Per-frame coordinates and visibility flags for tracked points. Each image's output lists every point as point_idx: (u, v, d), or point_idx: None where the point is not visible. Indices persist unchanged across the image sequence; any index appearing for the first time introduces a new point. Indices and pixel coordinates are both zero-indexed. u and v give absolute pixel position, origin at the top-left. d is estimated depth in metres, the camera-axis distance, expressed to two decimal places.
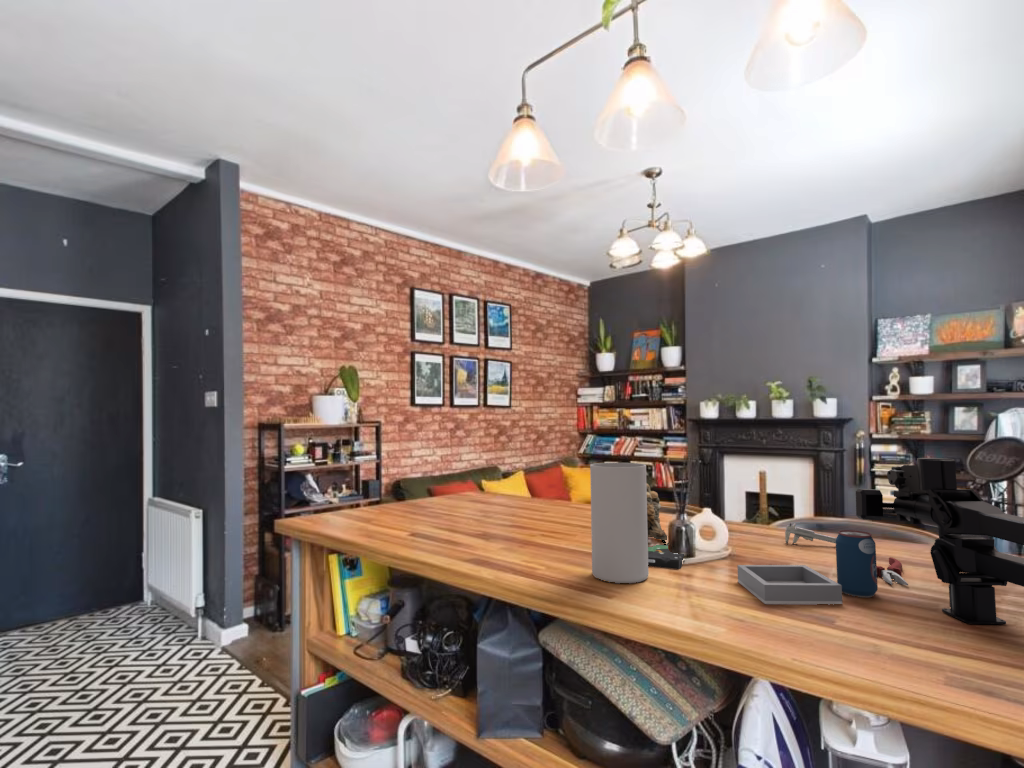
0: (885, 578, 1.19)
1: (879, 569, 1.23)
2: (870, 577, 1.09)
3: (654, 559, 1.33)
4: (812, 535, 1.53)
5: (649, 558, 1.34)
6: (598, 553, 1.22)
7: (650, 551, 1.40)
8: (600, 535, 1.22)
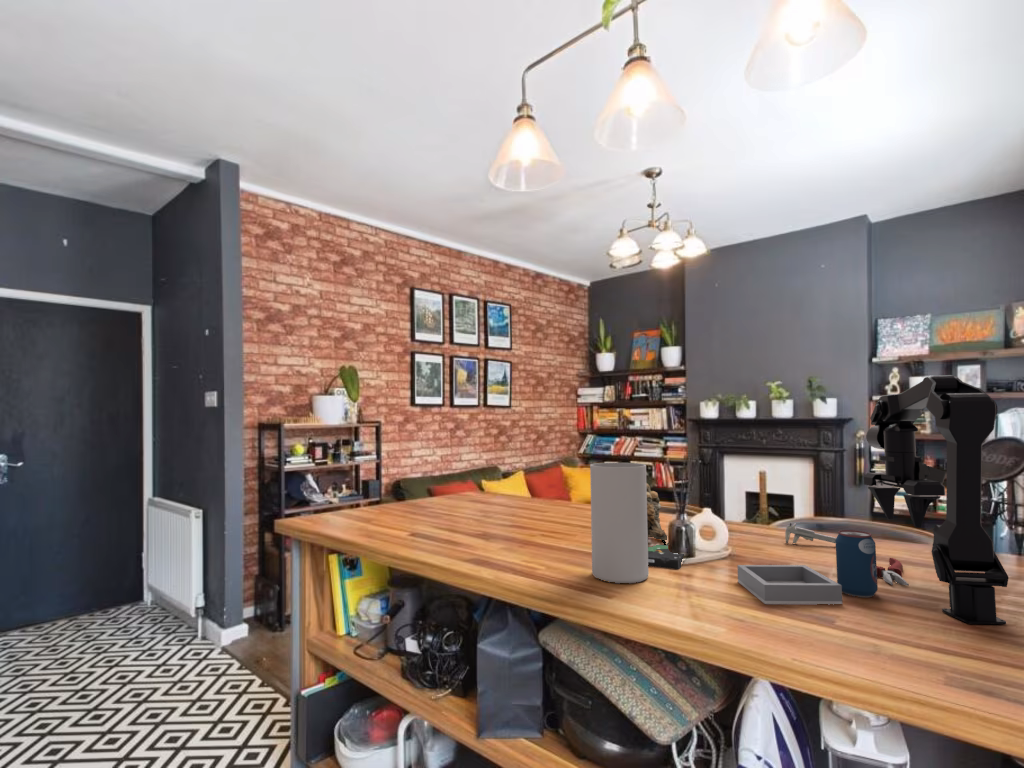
0: (885, 578, 1.19)
1: (879, 569, 1.23)
2: (870, 577, 1.09)
3: (653, 559, 1.33)
4: (812, 535, 1.53)
5: (648, 558, 1.34)
6: (598, 553, 1.22)
7: (650, 551, 1.40)
8: (599, 535, 1.22)
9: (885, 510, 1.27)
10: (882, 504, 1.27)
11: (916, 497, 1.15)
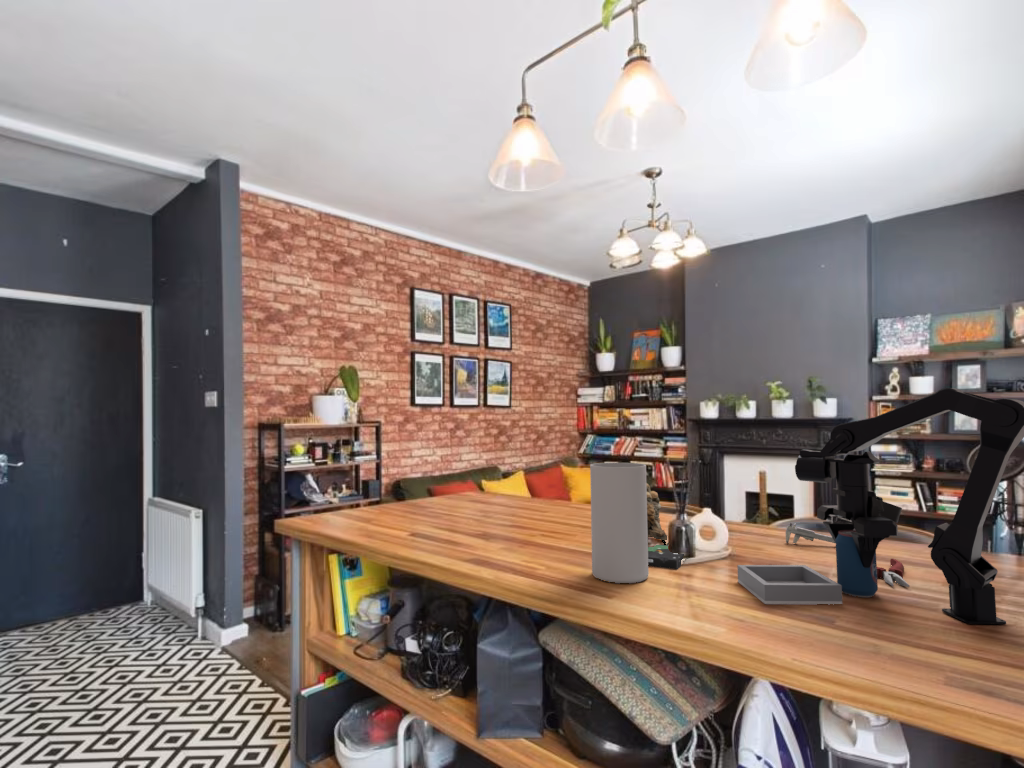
0: (886, 579, 1.18)
1: (880, 570, 1.22)
2: (870, 576, 1.09)
3: (652, 559, 1.34)
4: (812, 535, 1.53)
5: None
6: (598, 553, 1.22)
7: (650, 551, 1.40)
8: (600, 535, 1.22)
9: None
10: None
11: (863, 536, 1.06)
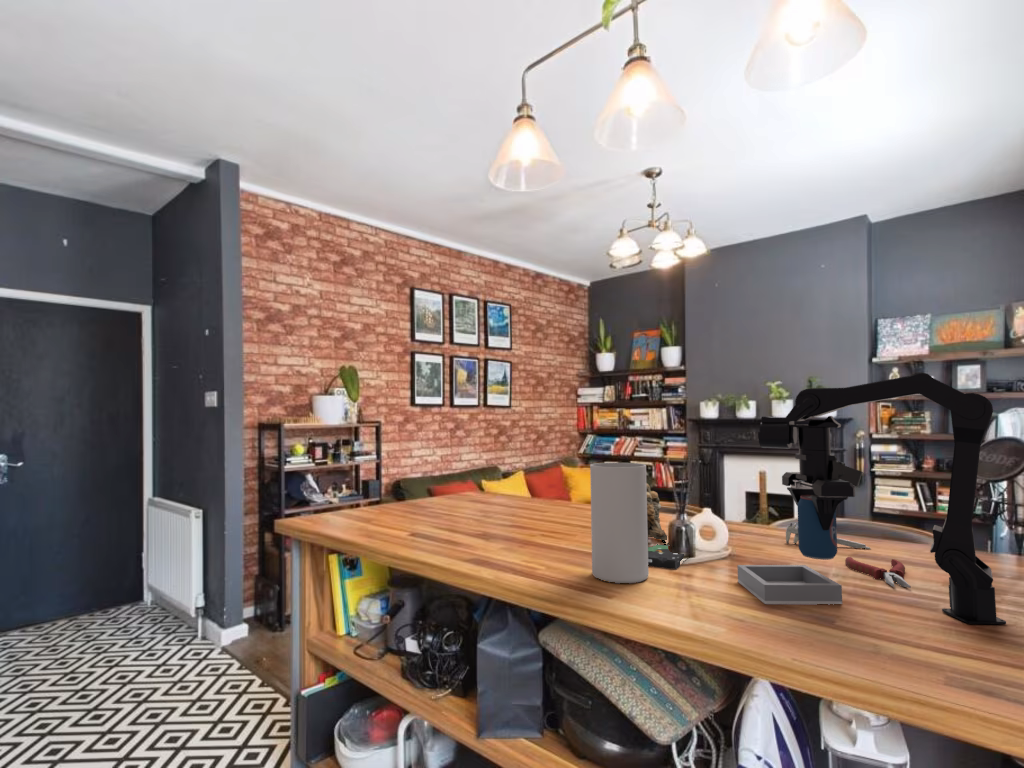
0: (887, 580, 1.17)
1: (881, 571, 1.22)
2: (829, 539, 1.10)
3: (651, 559, 1.34)
4: None
5: None
6: (598, 553, 1.22)
7: (650, 551, 1.40)
8: (600, 535, 1.22)
9: None
10: None
11: (821, 498, 1.07)
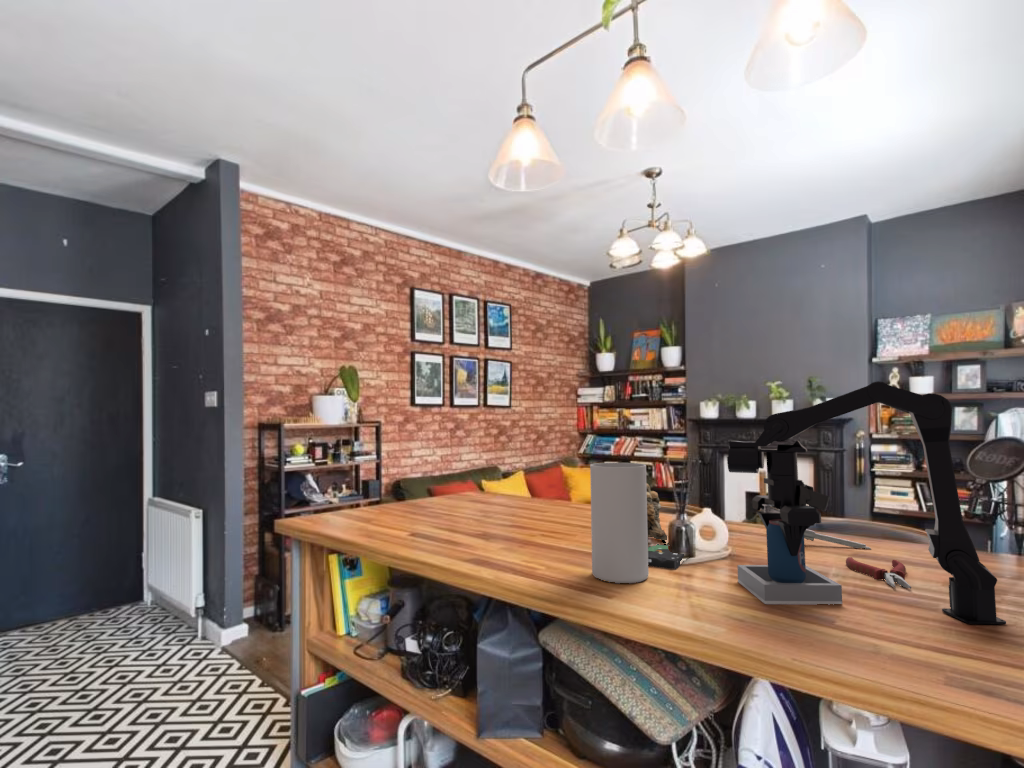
0: (888, 581, 1.17)
1: (882, 572, 1.21)
2: (797, 565, 1.10)
3: (650, 559, 1.34)
4: (813, 535, 1.53)
5: None
6: (598, 553, 1.22)
7: (650, 551, 1.41)
8: (600, 535, 1.22)
9: None
10: None
11: (788, 524, 1.07)
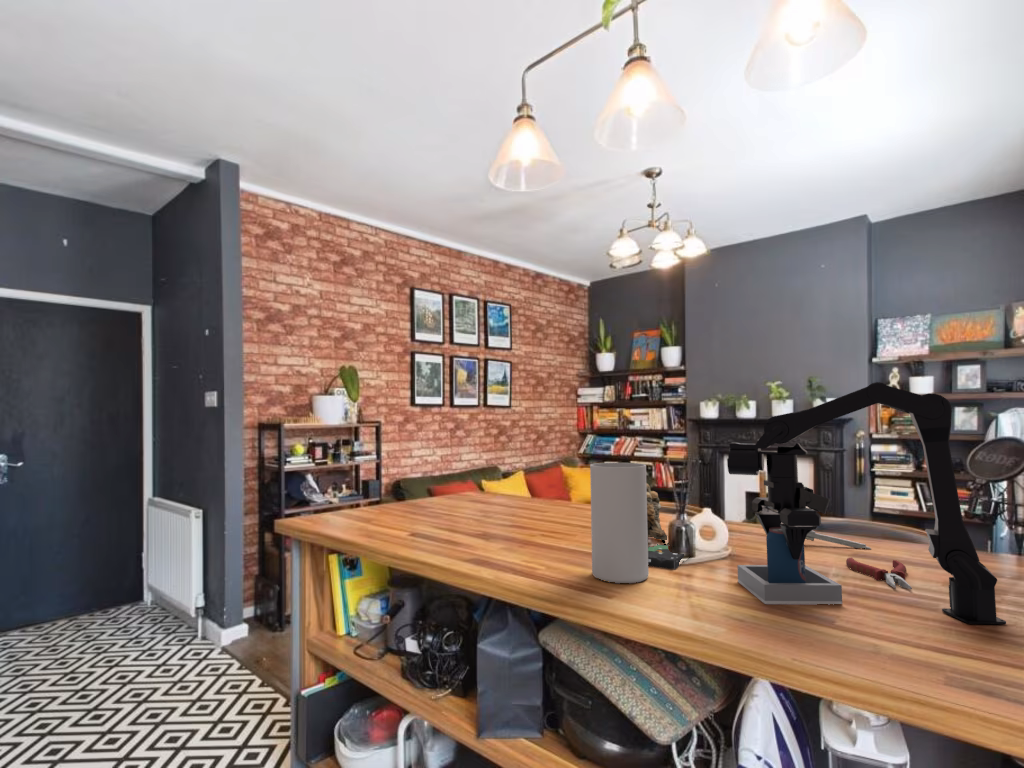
0: (888, 581, 1.17)
1: (882, 572, 1.21)
2: (797, 573, 1.10)
3: (650, 558, 1.34)
4: (813, 535, 1.53)
5: None
6: (598, 553, 1.22)
7: (650, 551, 1.41)
8: (599, 535, 1.22)
9: None
10: (767, 532, 1.18)
11: (791, 527, 1.06)
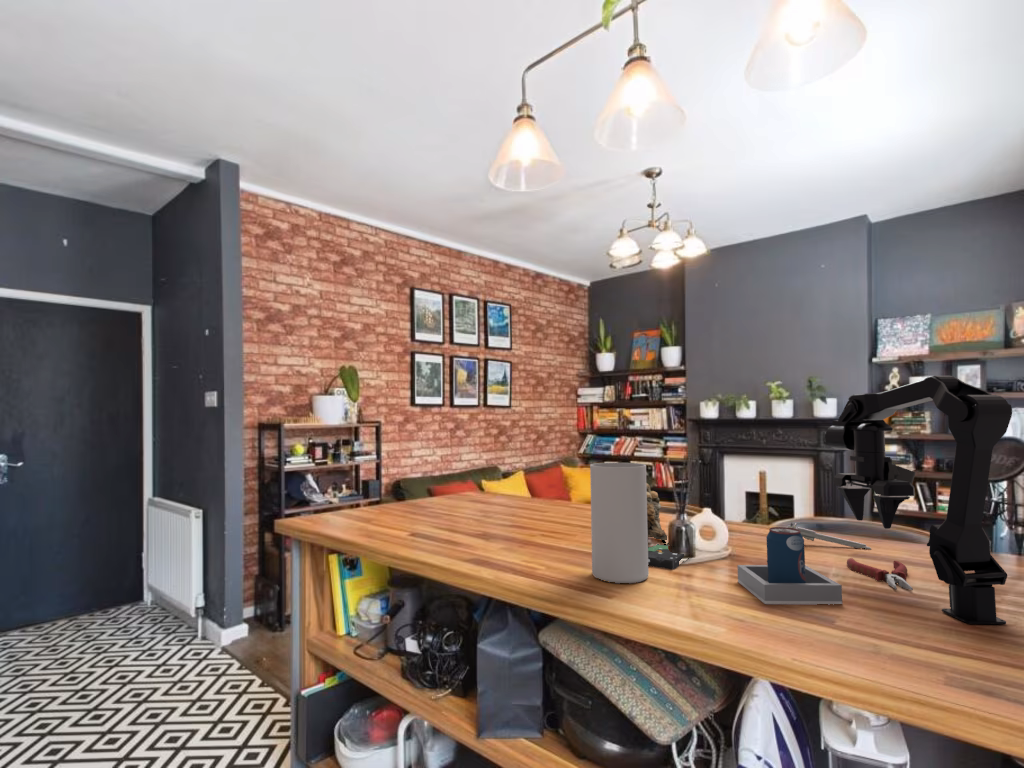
0: (889, 582, 1.16)
1: (883, 573, 1.20)
2: (797, 573, 1.10)
3: (649, 558, 1.34)
4: (813, 535, 1.53)
5: None
6: (598, 553, 1.22)
7: (650, 551, 1.41)
8: (599, 535, 1.22)
9: (855, 511, 1.25)
10: (852, 505, 1.25)
11: (886, 498, 1.12)
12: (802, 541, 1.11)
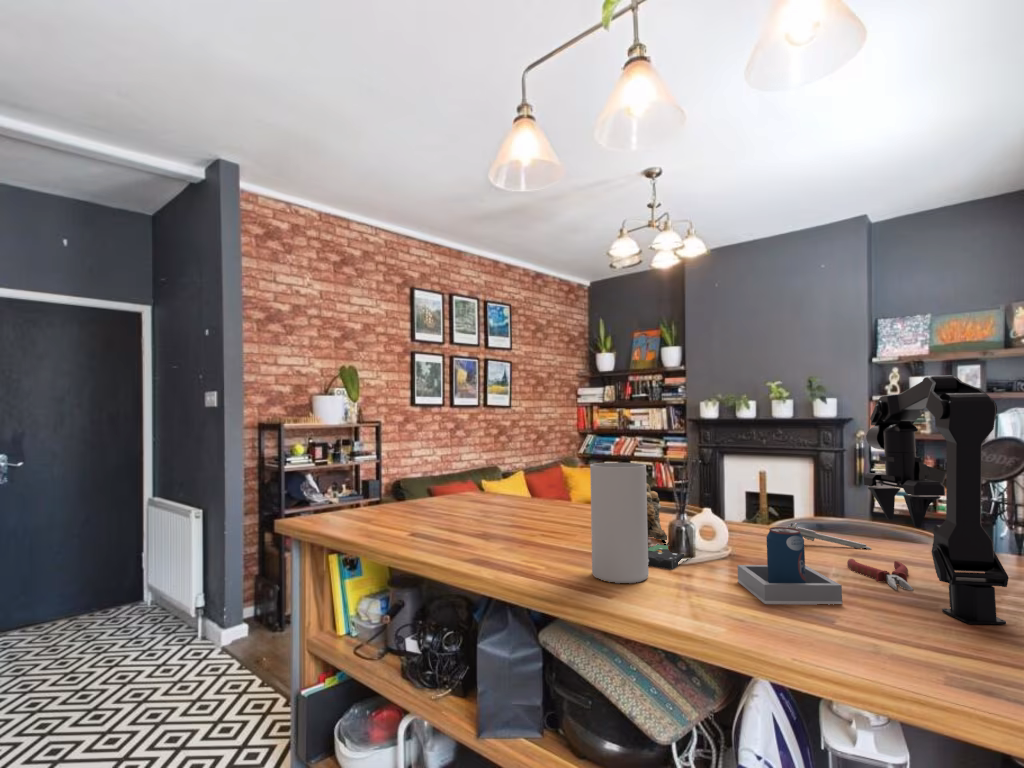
0: (890, 583, 1.16)
1: (884, 573, 1.20)
2: (797, 573, 1.10)
3: (648, 558, 1.34)
4: (813, 535, 1.53)
5: None
6: (598, 553, 1.22)
7: (650, 551, 1.41)
8: (600, 535, 1.22)
9: (885, 510, 1.27)
10: (882, 504, 1.27)
11: (916, 497, 1.15)
12: (802, 541, 1.11)
